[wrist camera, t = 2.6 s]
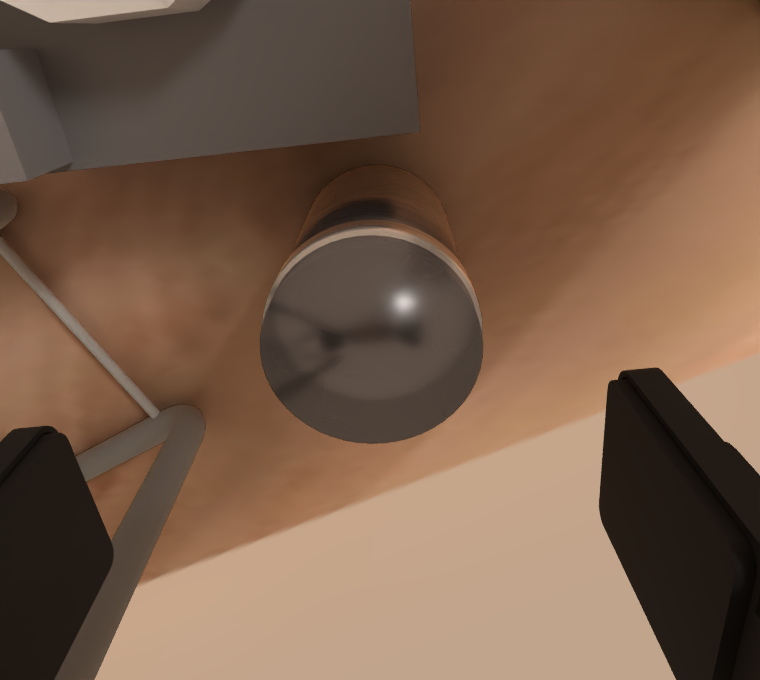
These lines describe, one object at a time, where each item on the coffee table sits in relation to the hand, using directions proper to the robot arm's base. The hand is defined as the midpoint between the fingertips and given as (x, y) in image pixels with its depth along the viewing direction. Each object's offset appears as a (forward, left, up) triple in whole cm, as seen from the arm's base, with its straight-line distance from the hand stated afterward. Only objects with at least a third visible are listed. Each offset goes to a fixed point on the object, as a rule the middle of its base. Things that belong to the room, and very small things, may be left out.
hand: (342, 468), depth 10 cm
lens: (0, -1, -11) cm, 11 cm away
